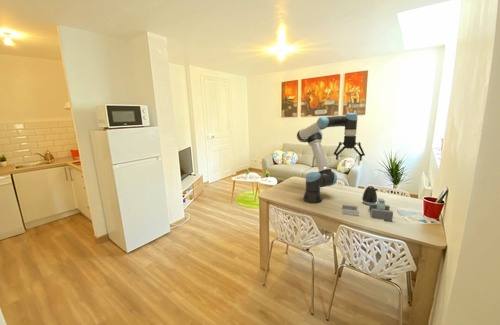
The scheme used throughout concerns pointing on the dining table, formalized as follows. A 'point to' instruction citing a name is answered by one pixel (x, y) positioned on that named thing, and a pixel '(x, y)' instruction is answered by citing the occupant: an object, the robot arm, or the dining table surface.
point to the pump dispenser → (369, 195)
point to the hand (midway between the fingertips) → (348, 164)
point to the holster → (350, 210)
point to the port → (380, 212)
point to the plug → (380, 204)
